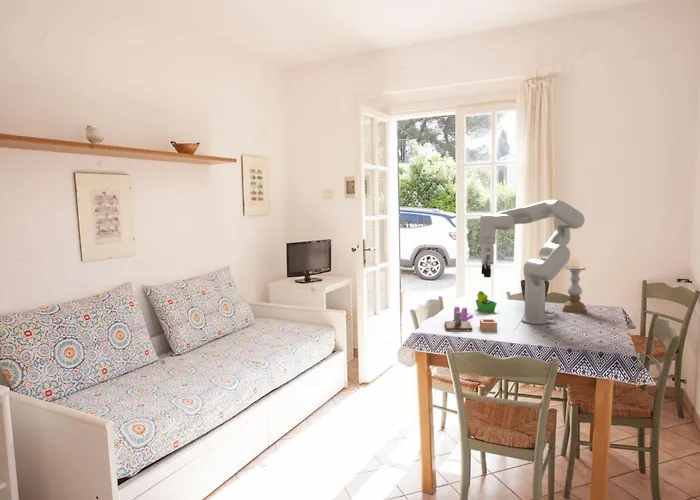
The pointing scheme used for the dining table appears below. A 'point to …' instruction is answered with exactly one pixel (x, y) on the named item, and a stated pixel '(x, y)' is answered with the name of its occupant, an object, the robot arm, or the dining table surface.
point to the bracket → (463, 313)
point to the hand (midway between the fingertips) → (485, 275)
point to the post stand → (458, 323)
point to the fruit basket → (485, 303)
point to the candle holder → (574, 292)
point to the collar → (488, 324)
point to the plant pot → (524, 288)
